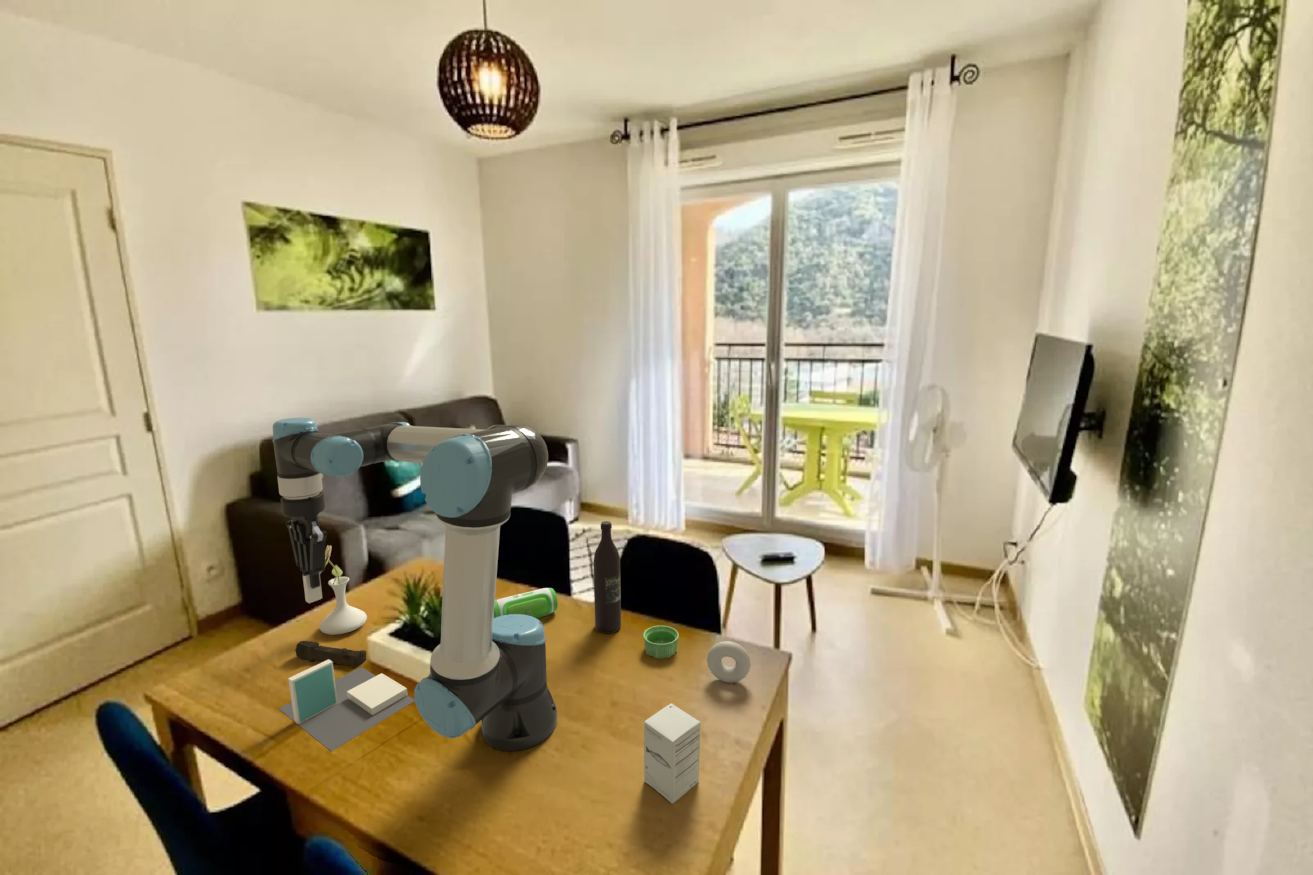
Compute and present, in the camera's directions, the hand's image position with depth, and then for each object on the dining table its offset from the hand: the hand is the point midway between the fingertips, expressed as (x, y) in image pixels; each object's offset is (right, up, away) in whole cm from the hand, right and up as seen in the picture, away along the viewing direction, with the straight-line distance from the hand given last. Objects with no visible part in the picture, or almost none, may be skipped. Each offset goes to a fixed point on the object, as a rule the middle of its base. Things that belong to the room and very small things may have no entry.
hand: (314, 599), depth 120 cm
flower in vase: (-12, -18, +33) cm, 39 cm away
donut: (+89, -22, +11) cm, 93 cm away
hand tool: (-8, -21, +18) cm, 29 cm away
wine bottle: (+60, -17, +34) cm, 71 cm away
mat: (+6, -24, +2) cm, 25 cm away
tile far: (+7, -21, +7) cm, 23 cm away
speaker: (+36, -17, +38) cm, 55 cm away
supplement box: (+76, -28, -18) cm, 83 cm away
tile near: (+1, -24, -1) cm, 24 cm away
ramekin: (+74, -20, +23) cm, 80 cm away
